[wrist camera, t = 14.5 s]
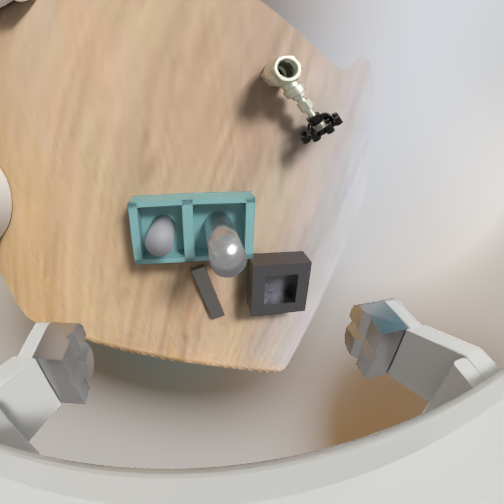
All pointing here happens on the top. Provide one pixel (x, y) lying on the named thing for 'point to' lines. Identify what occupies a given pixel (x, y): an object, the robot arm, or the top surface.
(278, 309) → the socket block
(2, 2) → the spread jar
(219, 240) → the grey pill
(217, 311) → the bar
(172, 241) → the rack
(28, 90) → the top surface
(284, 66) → the valve
